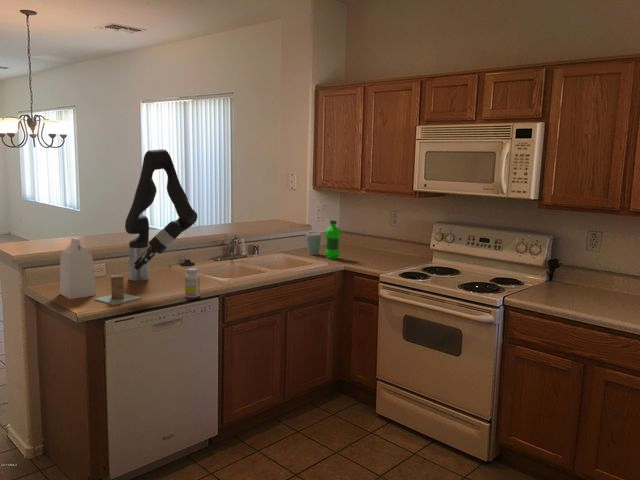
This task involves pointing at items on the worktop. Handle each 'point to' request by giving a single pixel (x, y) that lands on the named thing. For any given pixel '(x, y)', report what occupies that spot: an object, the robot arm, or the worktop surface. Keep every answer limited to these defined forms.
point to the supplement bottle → (192, 283)
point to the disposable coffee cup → (313, 242)
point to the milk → (76, 271)
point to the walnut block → (117, 287)
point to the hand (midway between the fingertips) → (135, 266)
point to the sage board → (114, 302)
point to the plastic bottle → (332, 241)
